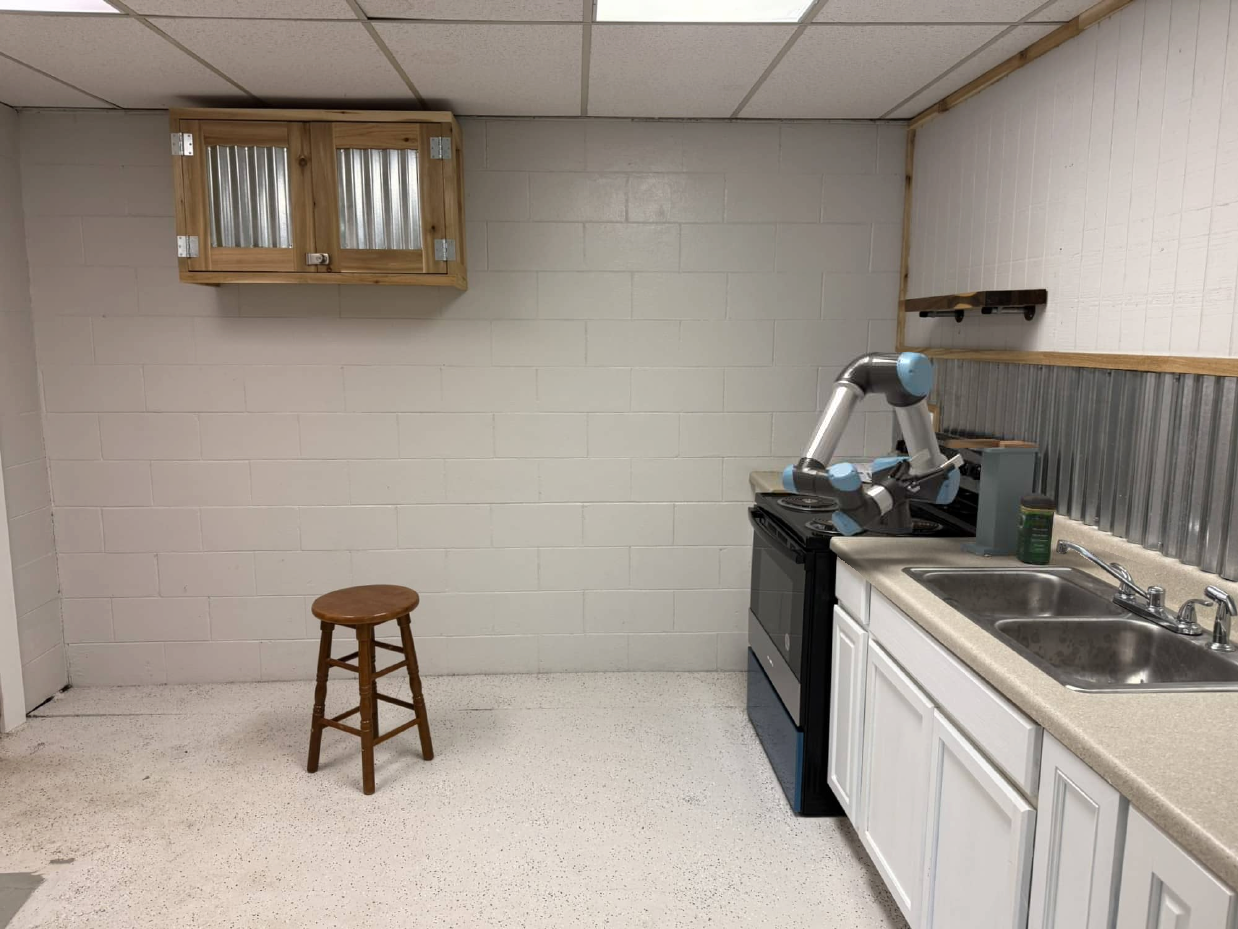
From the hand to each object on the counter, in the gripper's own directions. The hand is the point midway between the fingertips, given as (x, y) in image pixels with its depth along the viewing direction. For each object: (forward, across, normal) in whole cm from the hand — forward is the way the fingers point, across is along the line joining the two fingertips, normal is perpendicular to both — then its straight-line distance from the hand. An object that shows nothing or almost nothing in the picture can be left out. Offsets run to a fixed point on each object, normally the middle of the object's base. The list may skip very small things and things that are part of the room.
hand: (944, 455), depth 233 cm
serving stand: (+3, 0, -34) cm, 34 cm away
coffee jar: (+5, +12, -35) cm, 37 cm away
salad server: (+14, 0, -6) cm, 15 cm away
